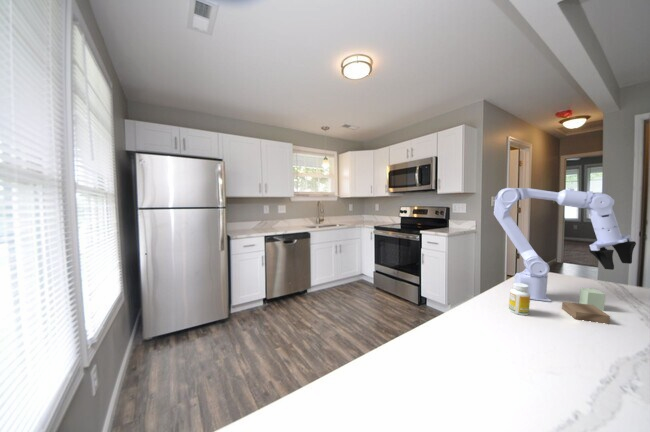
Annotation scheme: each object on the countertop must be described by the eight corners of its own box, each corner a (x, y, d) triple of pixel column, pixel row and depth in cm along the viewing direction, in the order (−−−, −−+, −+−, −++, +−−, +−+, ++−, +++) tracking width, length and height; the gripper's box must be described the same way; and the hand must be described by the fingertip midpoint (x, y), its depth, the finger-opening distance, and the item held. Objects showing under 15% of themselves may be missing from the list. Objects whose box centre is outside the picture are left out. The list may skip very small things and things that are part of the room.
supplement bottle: (506, 311, 84) (508, 284, 83) (511, 306, 87) (512, 280, 86) (526, 317, 79) (528, 288, 78) (530, 312, 83) (532, 284, 82)
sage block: (586, 309, 85) (588, 292, 84) (579, 303, 89) (580, 287, 88) (603, 311, 83) (605, 294, 83) (595, 305, 87) (596, 289, 87)
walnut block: (575, 320, 78) (576, 311, 78) (561, 309, 85) (562, 301, 85) (609, 325, 75) (610, 316, 75) (592, 313, 82) (592, 305, 82)
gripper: (603, 232, 79) (616, 273, 78) (638, 221, 81) (651, 261, 80) (578, 232, 86) (590, 270, 85) (611, 222, 88) (623, 259, 87)
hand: (618, 266), depth 83 cm, fingers open, 7 cm apart
